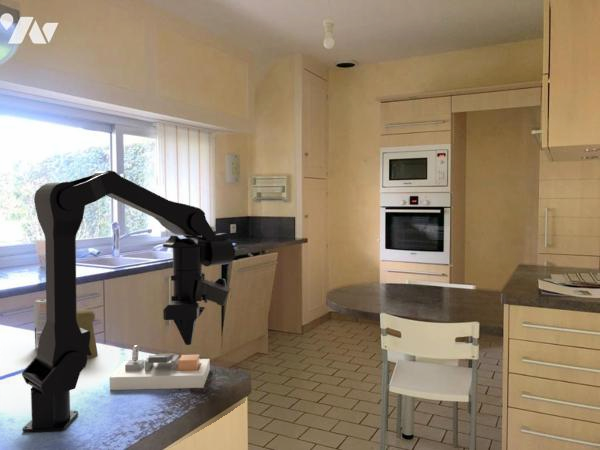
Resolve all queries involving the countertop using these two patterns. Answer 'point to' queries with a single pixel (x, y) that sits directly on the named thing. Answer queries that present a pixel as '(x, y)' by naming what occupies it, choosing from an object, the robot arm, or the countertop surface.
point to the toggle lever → (135, 353)
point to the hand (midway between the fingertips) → (188, 344)
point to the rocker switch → (161, 358)
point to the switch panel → (158, 375)
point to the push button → (189, 363)
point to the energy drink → (39, 318)
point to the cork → (88, 328)
